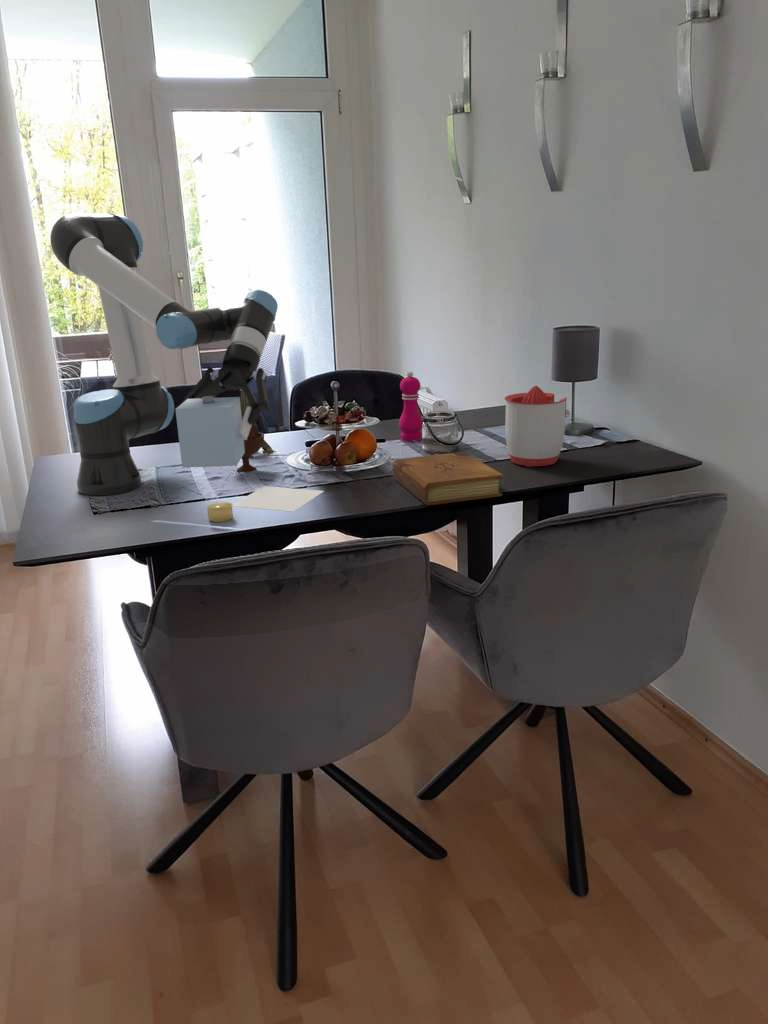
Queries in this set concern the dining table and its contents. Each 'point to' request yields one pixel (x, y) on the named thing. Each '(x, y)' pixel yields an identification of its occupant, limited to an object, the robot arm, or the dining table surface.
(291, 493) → the mat
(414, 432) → the pepper mill
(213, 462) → the cover
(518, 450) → the citrus juicer
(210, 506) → the yellow short cylinder
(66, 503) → the dining table surface
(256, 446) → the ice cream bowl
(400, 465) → the diary
